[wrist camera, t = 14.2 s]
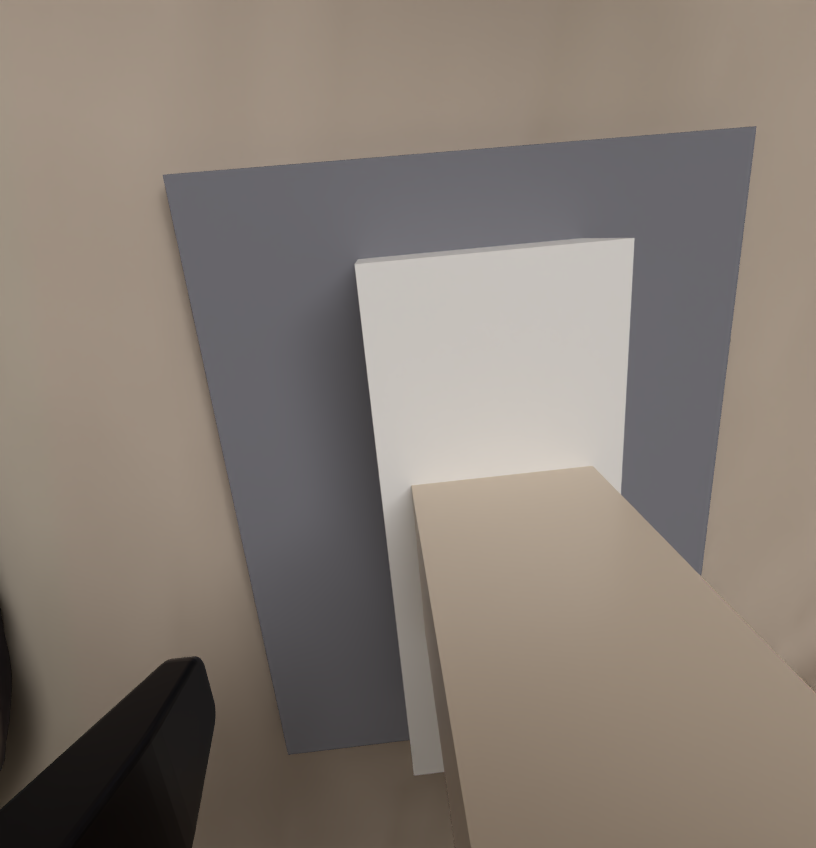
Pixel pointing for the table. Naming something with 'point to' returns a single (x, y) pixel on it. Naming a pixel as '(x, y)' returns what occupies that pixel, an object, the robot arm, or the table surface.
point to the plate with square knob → (559, 574)
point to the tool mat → (348, 382)
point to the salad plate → (4, 692)
